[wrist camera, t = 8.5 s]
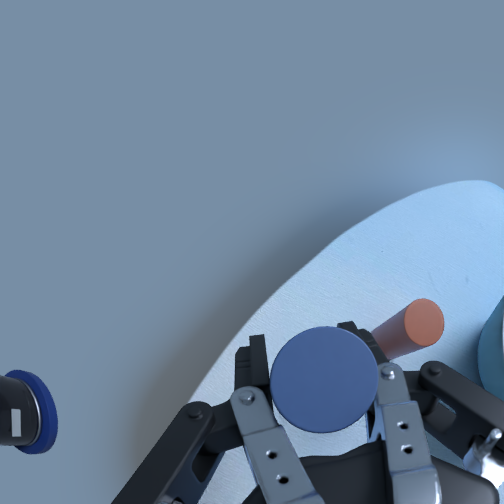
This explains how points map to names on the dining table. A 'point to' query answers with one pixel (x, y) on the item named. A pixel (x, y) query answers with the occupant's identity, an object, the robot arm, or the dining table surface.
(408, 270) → the dining table surface
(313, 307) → the dining table surface
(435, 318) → the terracotta peg
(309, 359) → the blue peg
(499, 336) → the bowl
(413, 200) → the dining table surface
